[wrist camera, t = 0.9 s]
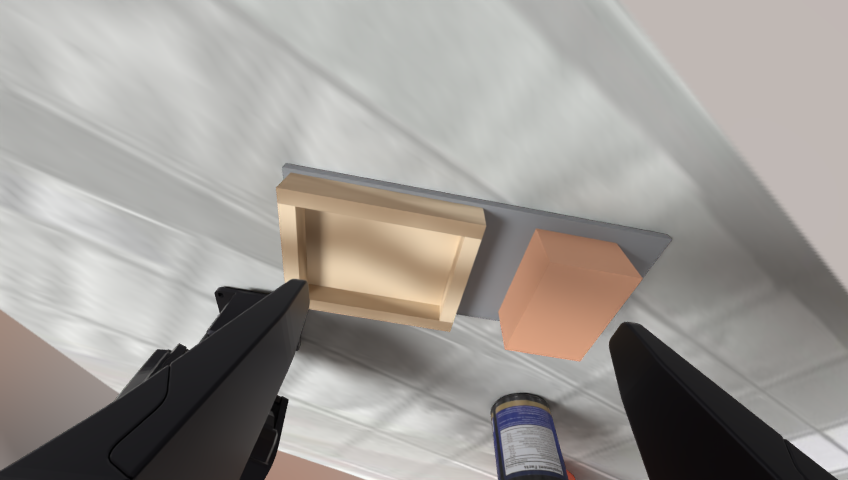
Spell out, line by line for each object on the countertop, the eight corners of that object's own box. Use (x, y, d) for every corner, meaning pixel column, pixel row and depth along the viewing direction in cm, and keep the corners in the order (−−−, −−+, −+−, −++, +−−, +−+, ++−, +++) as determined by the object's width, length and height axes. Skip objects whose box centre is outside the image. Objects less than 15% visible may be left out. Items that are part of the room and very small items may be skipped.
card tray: (449, 310, 26) (450, 331, 24) (297, 285, 25) (286, 305, 24) (482, 208, 21) (486, 225, 19) (290, 172, 20) (276, 187, 18)
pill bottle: (533, 425, 37) (561, 561, 28) (481, 416, 36) (493, 551, 27) (559, 397, 33) (602, 541, 24) (502, 386, 33) (525, 529, 24)
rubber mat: (595, 331, 27) (597, 337, 27) (294, 281, 26) (291, 286, 25) (666, 234, 22) (672, 239, 21) (286, 163, 20) (282, 167, 20)
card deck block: (565, 323, 26) (580, 361, 23) (498, 311, 26) (504, 349, 23) (616, 243, 22) (642, 278, 19) (535, 228, 21) (550, 262, 18)
